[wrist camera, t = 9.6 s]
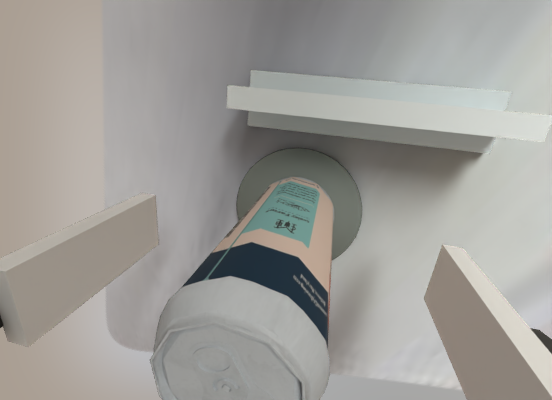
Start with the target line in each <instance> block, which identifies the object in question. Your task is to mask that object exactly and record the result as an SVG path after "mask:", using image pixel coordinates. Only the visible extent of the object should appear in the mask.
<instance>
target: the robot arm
mask: <svg viewBox="0 0 552 400" xmlns="http://www.w3.org/2000/svg"><path fill="white" fill-rule="evenodd" d="M157 245H159V239H158V225H157V210H156V195H152V194H146V193H140V194H138V195H136V196H133V197H131V198H129V199H127V200H125V201H123V202H120V203H118V204H116V205H114V206H112V207H110V208H107V209H105V210H103V211H101V212H99V213H97V214H94V215H92V216H90V217H88V218H86V219H84V220H82V221H79V222H77V223H75V224H73V225H71V226H68V227H66V228H64V229H62V230H60V231H58V232H55V233H53V234H51V235H49V236H47V237H45V238H43V239H40V240H38V241H36V242H34V243H31V244H29V245H27V246H25V247H23V248H21V249H18V250H16V251H14V252H12V253H10V254H8V255H6V256H3V257H1V258H0V328H1V327H2V326H3V328H4V331H5V334H6V337H7V340H8V341H9V342H12V343H16V344H19V345H23V346H25V347H29V346H31V345H32V344H33V343H34V342H36V341H37V340H38V339H39V338H41V337H42V336H43V335H44V334H46V333H47V332H48V331H49V330H51V329H52V328H53V327H54V326H56V325H57V324H58V323H60V322H61V321H62V320H63V319H65V318H66V317H67V316H68V315H70V314H71V313H72V312H74V311H75V310H76V309H77V308H79V307H80V306H81V305H82V304H84V303H85V302H86V301H88V300H89V299H90V298H91V297H93V296H94V295H95V294H96V293H98V292H99V291H100V290H101V289H103V288H104V287H105V286H107V285H108V284H109V283H110V282H112V281H113V280H114V279H115V278H117V277H118V276H119V275H121V274H122V273H123V272H124V271H126V270H127V269H128V268H129V267H131V266H132V265H133V264H134V263H136V262H137V261H138V260H140V259H141V258H142V257H143V256H145V255H146V254H147V253H148V252H150V251H151V250H152V249H153V248H155V247H156V246H157ZM424 300H425V302H426V305H427V307H428V309H429V312H430V314H431V316H432V319H433V321H434V323H435V326H436V328H437V330H438V333H439V335H440V337H441V340H442V342H443V345H444V347H445V349H446V352H447V354H448V356H449V359H450V361H451V363H452V366H453V368H454V370H455V373H456V375H457V377H458V380H459V382H460V384H461V387H462V389H463V392H464V394H465V396H466V399H467V400H552V339H550V338H549V337H548V336H546V335H545V334H544V333H543V332H541V331H540V330H536V329H532V328H529V326H528V325H527V324H526V323H525V322H524V320H523V319H522V318H521V317H520V316H519V314H518V313H517V312H516V311H515V310H514V309H513V307H512V306H511V305H510V304H509V303H508V301H507V300H506V299H505V298H504V297H503V295H502V294H501V293H500V292H499V291H498V289H497V288H496V287H495V286H494V285H493V283H492V282H491V281H490V280H489V279H488V277H487V276H486V275H485V274H484V273H483V271H482V270H481V269H480V268H479V267H478V266H477V264H476V263H475V262H474V261H473V260H472V258H471V257H470V256H469V255H468V254H467V252H466V251H465V250H464V249H463V248H460V247H454V246H449V245H442V247H441V250H440V253H439V256H438V259H437V262H436V265H435V268H434V271H433V274H432V276H431V279H430V282H429V285H428V288H427V291H426V294H425V297H424Z"/></svg>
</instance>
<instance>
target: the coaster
mask: <svg viewBox="0 0 552 400" xmlns="http://www.w3.org/2000/svg"><path fill="white" fill-rule="evenodd" d="M287 177H302V178H305V179H308V180H311V181H313V182H315V183H317V184H318V185H320V186H321V187H322V188H323V189H324V190H325V191H326V193H327V194H328V195H329V197H330V198H331V201H332V203H333V206H334V216H335V218H334V223H333V235H332V258H331V260H333V259H335V258H336V257H338V256H339V255H341V254H342V253H343V252H344V251H345V250H346V249H347V248H348V247H349V246H350V245H351V243H352V242H353V240H354V239H355V237H356V235H357V233H358V231H359V227H360V224H361V218H362V205H361V198H360V195H359V191H358V188H357V186H356V184H355V182H354V180H353V179H352V177H351V176H350V174H349V173H348V172H347V171H346V169H345V168H344V167H343V166H342V165H340V164H339V163H338V162H337V161H335V160H334V159H332V158H331V157H329V156H327V155H325V154H323V153H321V152H318V151H315V150H310V149H304V148H290V149H284V150H280V151H277V152H274V153H271V154H270V155H268V156H266V157H264V158H263V159H261V160H260V161H258V162H257V163H256V164H255V165H254V166H253V167H252V168H251V169H250V170H249V171H248V173H247V174H246V175H245V177H244V179H243V181H242V183H241V185H240V188H239V192H238V196H237V213H238V219H239V220H240V219H241V218H242V217H243V216H244V215H245V214H246V212H247V211H248V210H249V209H250V208H251V207H252V205H253V204H254V203H255V202H256V201H257V200H258V198H259V197H260V196H261V195H262V194H263V193H264V191H265V190H266V189H267V187H268V186H269V185H271V184H272V183H274V182H276V181H278V180H280V179H283V178H287Z"/></svg>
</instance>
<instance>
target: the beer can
mask: <svg viewBox="0 0 552 400" xmlns="http://www.w3.org/2000/svg"><path fill="white" fill-rule="evenodd" d="M334 218H335V216H334V206H333V203H332V201H331V198H330V197H329V195H328V194H327V193H326V191H325V190H324V189H323V188H322V187H321V186H320V185H318V184H317V183H315V182H313V181H311V180H308V179H305V178H302V177H287V178H283V179H280V180H278V181H276V182H274V183H272V184H271V185H269V186H268V187H267V189H266V190H265V191H264V193H263V194H262V195H261V196H260V197H259V198H258V200H257V201H256V202H255V203H254V204H253V205H252V207H251V208H250V209H249V210H248V211H247V212H246V214H245V215H244V216H243V217H242V218H241V219H240V220H239V222H238V223H237V224H236V225H235V226H234V227H233V229H232V230H231V231H230V232H229V233H228V234H227V236H226V237H225V238H224V239H223V240H222V241H221V242H220V244H219V245H218V246H217V247H216V248H215V249H214V251H213V252H212V253H211V254H210V255H209V256H208V257H207V259H206V260H205V261H204V262H203V263H202V264H201V266H200V267H199V268H198V269H197V270H196V271H195V273H194V274H193V275H192V276H191V277H190V278H189V279H188V281H187V282H186V283H185V284H184V285H183V286H182V288H181V289H180V290H179V291H178V292H177V293H176V294H175V295H174V296H173V297H172V298H170V299H169V301H168V303H167V304H166V306H165V308H164V310H163V312H162V314H161V316H160V320H159V324H158V328H157V334H156V340H155V346H154V353H153V356H152V357H151V359H150V363H151V366H152V370H153V374H154V378H155V382H156V385H157V389H158V393H159V396H160V398H161V399H162V400H320V398H321V396H322V395H323V393H324V391H325V389H326V386H327V384H328V380H329V376H330V359H329V354H328V328H329V305H330V282H331V258H332V235H333V223H334Z"/></svg>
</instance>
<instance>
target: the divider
mask: <svg viewBox="0 0 552 400" xmlns="http://www.w3.org/2000/svg"><path fill="white" fill-rule="evenodd" d="M511 94H512V91H501V90H488V89H476V88H464V87H452V86H440V85H427V84H415V83H403V82H391V81H379V80H367V79H354V78H342V77H330V76H318V75H306V74H293V73H281V72H269V71H257V70H251V74H250V87H243V86H233V85H227V108H230V109H239V110H248V126H255V127H264V128H272V129H281V130H289V131H298V132H306V133H315V134H323V135H332V136H341V137H349V138H358V139H366V140H375V141H383V142H392V143H400V144H409V145H417V146H426V147H435V148H443V149H452V150H460V151H469V152H477V153H486V154H490V153H491V150H492V147H493V144H494V142H495V139H496V137H499V138H509V139H518V140H527V141H536V142H544V141H545V138H546V136H547V133H548V131H549V129H550V126H551V124H552V115H545V114H534V113H524V112H513V111H506V108H507V105H508V102H509V99H510V97H511Z"/></svg>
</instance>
